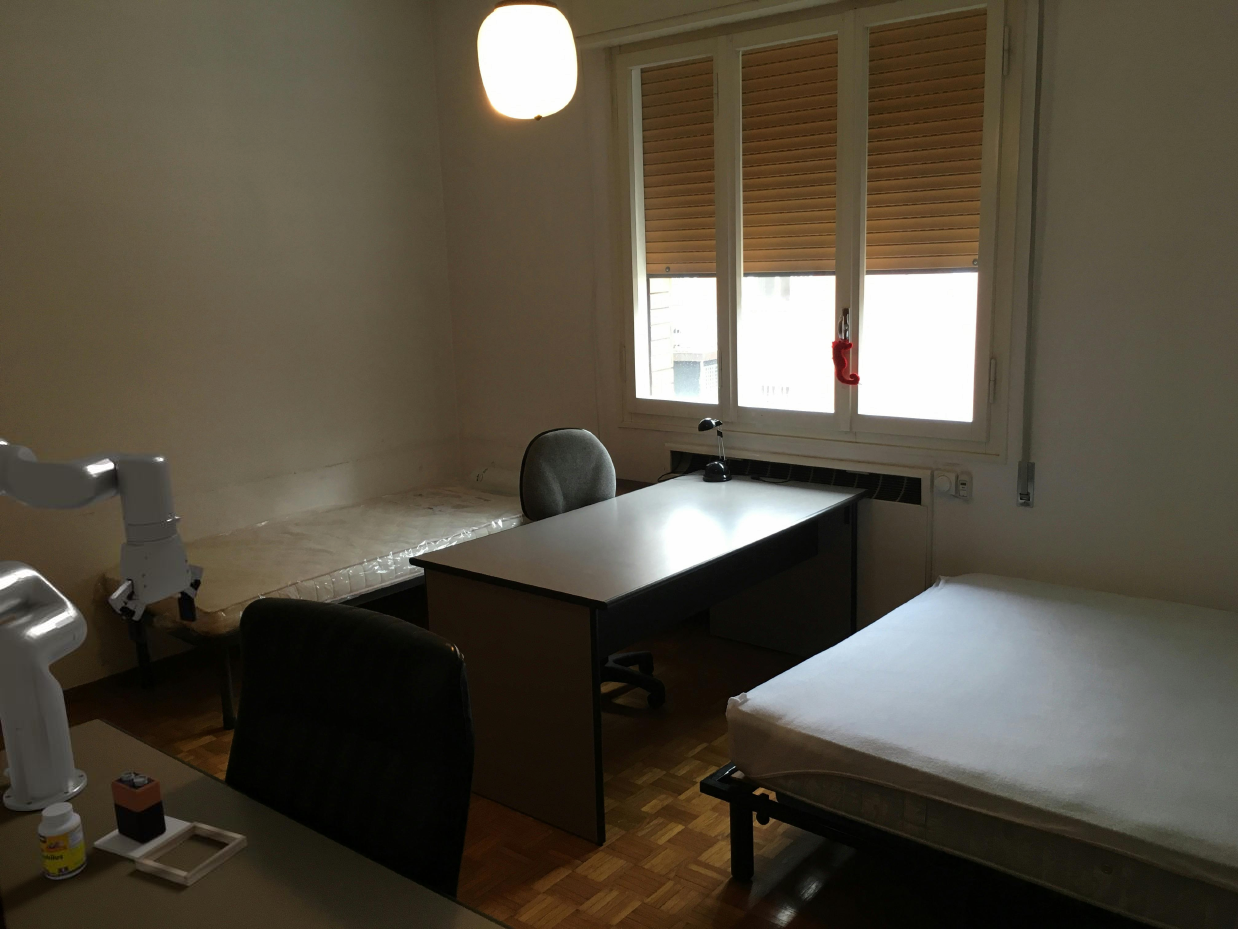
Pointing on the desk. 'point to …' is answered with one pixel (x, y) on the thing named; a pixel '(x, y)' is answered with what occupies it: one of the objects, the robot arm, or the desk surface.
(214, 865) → the holder frame
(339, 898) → the desk surface
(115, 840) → the ceramic pad
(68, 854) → the supplement bottle
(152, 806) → the battery
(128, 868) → the desk surface
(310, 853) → the desk surface
